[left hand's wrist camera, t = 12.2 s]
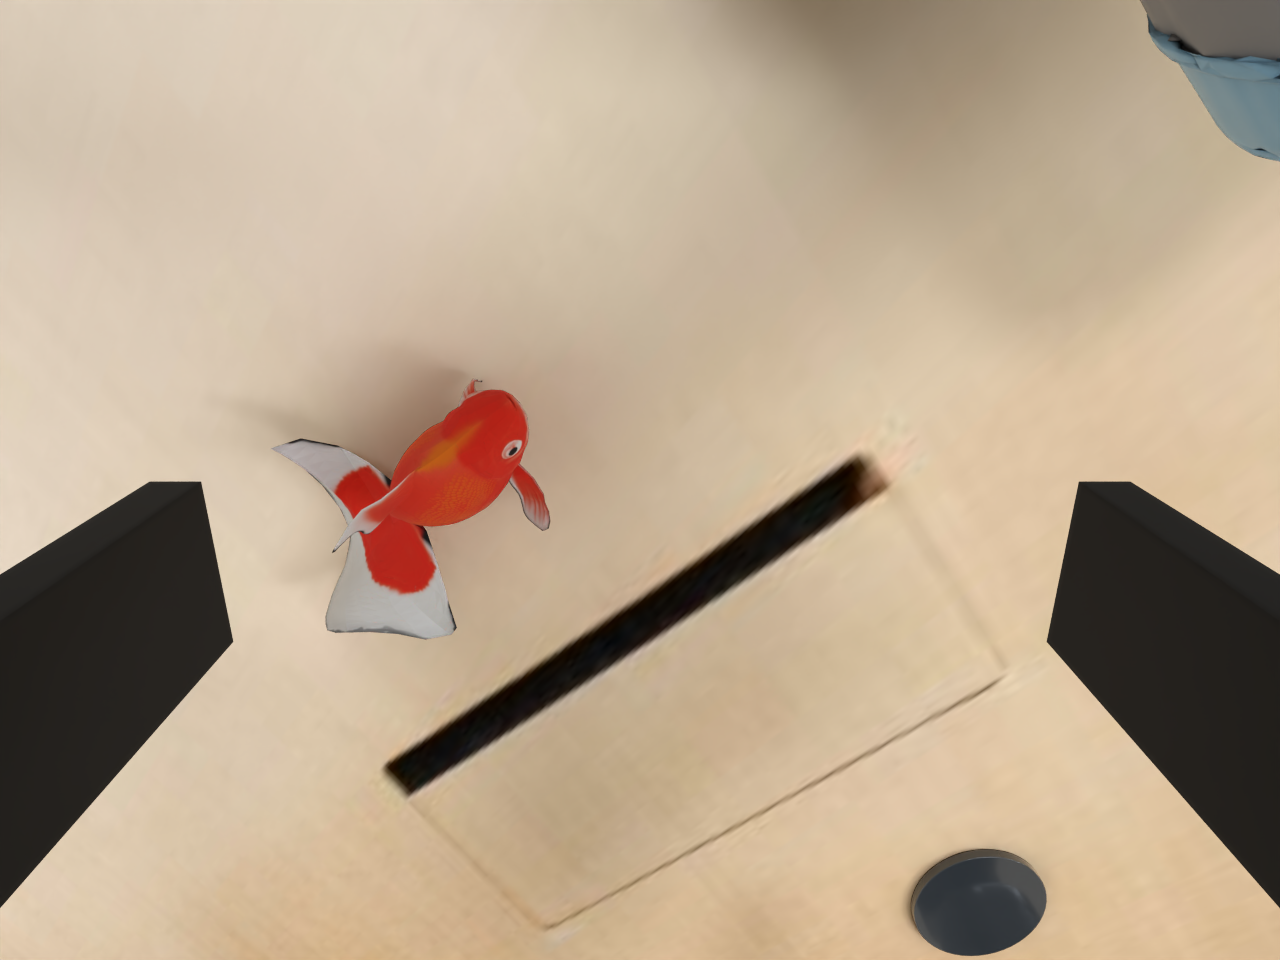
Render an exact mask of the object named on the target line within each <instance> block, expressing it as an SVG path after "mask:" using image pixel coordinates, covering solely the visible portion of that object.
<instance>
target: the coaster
mask: <svg viewBox="0 0 1280 960" xmlns="http://www.w3.org/2000/svg"><path fill="white" fill-rule="evenodd" d="M1046 902H1047V900H1046V891H1045V887H1044V885H1043V882H1042V880H1041V879H1040V877H1039V875H1038V874H1037V872H1036V871H1035V869H1034V868H1033V867H1032V866H1031V865H1030V864H1029V863H1028V862H1026V861H1025V860H1023V859H1022V858H1020V857H1018V856H1016V855H1014V854H1011V853H1008V852H1004V851H999V850H987V849H985V850H973V851H968V852H964V853H960V854H957V855H954V856H951V857H949V858H947V859H945V860H943V861H942V862H940V863H938V864H937V865H935V866H934V867H933V868H931V869H930V870H929V871H928V872H927V873H926V874H925V875H924V876H923V877H922V879H921V880H920V881H919V883H918V885H917V886H916V888H915V891H914V893H913V897H912V902H911V910H912V915H913V919H914V922H915V924H916V927H917V929H918V931H919V932H920V934H921V935H922V937H923V938H924V939H925V940H926V941H927V942H929V943H930V944H931V945H933V946H934V947H936V948H938V949H940V950H942V951H945V952H947V953H951V954H955V955H962V956H979V955H987V954H991V953H995V952H998V951H1001V950H1004V949H1006V948H1009V947H1011V946H1013V945H1015V944H1016V943H1018V942H1020V941H1021V940H1022V939H1024V938H1025V937H1026V936H1028V935H1029V934H1030V933H1031V932H1032V931H1033V930H1034V929H1035V927H1036V926H1037V925H1038V923H1039V922H1040V920H1041V918H1042V916H1043V914H1044V911H1045V908H1046Z"/></svg>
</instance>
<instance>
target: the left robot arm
mask: <svg viewBox="0 0 1280 960" xmlns="http://www.w3.org/2000/svg"><path fill="white" fill-rule="evenodd" d="M1140 1H1141V3H1142V5H1143V7H1144V8H1145V10H1146V12H1147V18H1148V27H1149V34H1150V35H1151V38H1152V40H1153V42H1154V43H1155V45H1156V46H1157V47H1158V49H1159V50H1160V51H1161V52H1163V53H1164V54H1165V55H1166V56H1167V57H1168V58H1170V59H1171V60H1172V61H1175V62H1177V63H1179V65H1180V67H1181V68H1182V70H1183V71H1184V73H1185V75H1186V76H1187V78H1188V79H1189V81H1190V83H1191V84H1192V86H1193V87H1194V89H1195V91H1196V92H1197V94H1198V96H1199V97H1200V99H1201V100H1202V102H1203V104H1204V105H1205V107H1206V108H1207V110H1208V112H1209V113H1210V115H1211V116H1212V118H1213V120H1214V121H1215V123H1216V125H1217V126H1218V127H1219V128H1220V130H1221V131H1222V132H1223V133H1224V134H1225V135H1226V136H1227V137H1228V138H1229V139H1230V140H1231V141H1232V142H1234V143H1235V144H1236V145H1237V146H1239V147H1240V148H1242V149H1244V150H1245V151H1247V152H1249V153H1251V154H1253V155H1255V156H1259V157H1263V158H1266V159H1271V160H1275V161H1280V0H1140ZM232 643H233V638H232V633H231V628H230V623H229V618H228V613H227V608H226V603H225V598H224V593H223V588H222V583H221V579H220V574H219V569H218V564H217V559H216V554H215V549H214V544H213V539H212V534H211V529H210V524H209V519H208V514H207V509H206V504H205V499H204V494H203V489H202V484H201V482H148V483H147V484H145V485H144V486H142V487H140V488H139V489H137V490H136V491H134V492H132V493H131V494H129V495H128V496H126V497H124V498H123V499H121V500H120V501H118V502H116V503H115V504H113V505H111V506H110V507H108V508H107V509H105V510H103V511H102V512H100V513H99V514H97V515H95V516H94V517H92V518H91V519H89V520H87V521H86V522H84V523H83V524H81V525H79V526H78V527H76V528H74V529H73V530H71V531H70V532H68V533H66V534H65V535H63V536H62V537H60V538H58V539H57V540H55V541H54V542H52V543H50V544H49V545H47V546H46V547H44V548H42V549H41V550H39V551H37V552H36V553H34V554H33V555H31V556H29V557H28V558H26V559H25V560H23V561H21V562H20V563H18V564H17V565H15V566H13V567H12V568H10V569H9V570H7V571H5V572H4V573H2V574H0V908H1V906H2V905H3V904H4V903H5V902H6V901H7V900H8V898H9V897H10V896H11V895H12V894H13V893H14V892H15V890H16V889H17V888H18V887H19V886H20V885H21V884H22V882H23V881H24V880H25V879H26V878H27V877H28V876H29V874H30V873H31V872H32V871H33V870H34V869H35V868H36V866H37V865H38V864H39V863H40V862H41V861H42V860H43V858H44V857H45V856H46V855H47V854H48V853H49V852H50V850H51V849H52V848H53V847H54V846H55V845H56V844H57V842H58V841H59V840H60V839H61V838H62V837H63V836H64V834H65V833H66V832H67V831H68V830H69V829H70V828H71V826H72V825H73V824H74V823H75V822H76V821H77V820H78V818H79V817H80V816H81V815H82V814H83V813H84V812H85V810H86V809H87V808H88V807H89V806H90V805H91V804H92V802H93V801H94V800H95V799H96V798H97V797H98V796H99V794H100V793H101V792H102V791H103V790H104V789H105V788H106V786H107V785H108V784H109V783H110V782H111V781H112V780H113V778H114V777H115V776H116V775H117V774H118V773H119V772H120V770H121V769H122V768H123V767H124V766H125V765H126V764H127V762H128V761H129V760H130V759H131V758H132V757H133V756H134V754H135V753H136V752H137V751H138V750H139V749H140V748H141V746H142V745H143V744H144V743H145V742H146V741H147V740H148V738H149V737H150V736H151V735H152V734H153V733H154V732H155V730H156V729H157V728H158V727H159V726H160V725H161V724H162V723H163V721H164V720H165V719H166V718H167V717H168V716H169V715H170V713H171V712H172V711H173V710H174V709H175V708H176V707H177V705H178V704H179V703H180V702H181V701H182V700H183V699H184V697H185V696H186V695H187V694H188V693H189V692H190V691H191V689H192V688H193V687H194V686H195V685H196V684H197V683H198V681H199V680H200V679H201V678H202V677H203V676H204V675H205V673H206V672H207V671H208V670H209V669H210V668H211V667H212V665H213V664H214V663H215V662H216V661H217V660H218V659H219V657H220V656H221V655H222V654H223V653H224V652H225V651H226V649H227V648H228V647H229V646H230V645H231V644H232ZM1047 643H1048V644H1049V645H1050V646H1051V647H1052V648H1053V649H1054V651H1055V652H1056V653H1057V654H1058V655H1059V656H1060V657H1061V659H1062V660H1063V661H1064V662H1065V663H1066V664H1067V665H1068V667H1069V668H1070V669H1071V670H1072V671H1073V672H1074V673H1075V675H1076V676H1077V677H1078V678H1079V679H1080V680H1081V681H1082V683H1083V684H1084V685H1085V686H1086V687H1087V688H1088V689H1089V691H1090V692H1091V693H1092V694H1093V695H1094V696H1095V697H1096V699H1097V700H1098V701H1099V702H1100V703H1101V704H1102V705H1103V707H1104V708H1105V709H1106V710H1107V711H1108V712H1109V713H1110V715H1111V716H1112V717H1113V718H1114V719H1115V720H1116V721H1117V723H1118V724H1119V725H1120V726H1121V727H1122V728H1123V729H1124V730H1125V732H1126V733H1127V734H1128V735H1129V736H1130V737H1131V738H1132V740H1133V741H1134V742H1135V743H1136V744H1137V745H1138V746H1139V748H1140V749H1141V750H1142V751H1143V752H1144V753H1145V754H1146V756H1147V757H1148V758H1149V759H1150V760H1151V761H1152V762H1153V764H1154V765H1155V766H1156V767H1157V768H1158V769H1159V770H1160V772H1161V773H1162V774H1163V775H1164V776H1165V777H1166V778H1167V780H1168V781H1169V782H1170V783H1171V784H1172V785H1173V786H1174V788H1175V789H1176V790H1177V791H1178V792H1179V793H1180V794H1181V796H1182V797H1183V798H1184V799H1185V800H1186V801H1187V802H1188V804H1189V805H1190V806H1191V807H1192V808H1193V809H1194V810H1195V812H1196V813H1197V814H1198V815H1199V816H1200V817H1201V818H1202V820H1203V821H1204V822H1205V823H1206V824H1207V825H1208V826H1209V828H1210V829H1211V830H1212V831H1213V832H1214V833H1215V834H1216V836H1217V837H1218V838H1219V839H1220V840H1221V841H1222V842H1223V844H1224V845H1225V846H1226V847H1227V848H1228V849H1229V850H1230V852H1231V853H1232V854H1233V855H1234V856H1235V857H1236V858H1237V860H1238V861H1239V862H1240V863H1241V864H1242V865H1243V866H1244V868H1245V869H1246V870H1247V871H1248V872H1249V873H1250V874H1251V876H1252V877H1253V878H1254V879H1255V880H1256V881H1257V882H1258V884H1259V885H1260V886H1261V887H1262V888H1263V889H1264V890H1265V892H1266V893H1267V894H1268V895H1269V896H1270V897H1271V898H1272V900H1273V901H1274V902H1275V903H1276V904H1277V905H1278V906H1279V908H1280V574H1278V573H1276V572H1275V571H1273V570H1271V569H1270V568H1268V567H1267V566H1265V565H1263V564H1262V563H1260V562H1259V561H1257V560H1255V559H1254V558H1252V557H1251V556H1249V555H1247V554H1246V553H1244V552H1243V551H1241V550H1239V549H1238V548H1236V547H1234V546H1233V545H1231V544H1230V543H1228V542H1226V541H1225V540H1223V539H1222V538H1220V537H1218V536H1217V535H1215V534H1214V533H1212V532H1210V531H1209V530H1207V529H1206V528H1204V527H1202V526H1201V525H1199V524H1197V523H1196V522H1194V521H1193V520H1191V519H1189V518H1188V517H1186V516H1185V515H1183V514H1181V513H1180V512H1178V511H1177V510H1175V509H1173V508H1172V507H1170V506H1169V505H1167V504H1165V503H1164V502H1162V501H1160V500H1159V499H1157V498H1156V497H1154V496H1152V495H1151V494H1149V493H1148V492H1146V491H1144V490H1143V489H1141V488H1140V487H1138V486H1136V485H1135V484H1133V483H1132V482H1079V484H1078V489H1077V494H1076V499H1075V504H1074V509H1073V514H1072V519H1071V524H1070V529H1069V534H1068V539H1067V544H1066V549H1065V554H1064V559H1063V564H1062V569H1061V574H1060V579H1059V583H1058V588H1057V593H1056V598H1055V603H1054V608H1053V613H1052V618H1051V623H1050V628H1049V633H1048V638H1047Z"/></svg>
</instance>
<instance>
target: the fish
mask: <svg viewBox="0 0 1280 960" xmlns="http://www.w3.org/2000/svg"><path fill="white" fill-rule="evenodd" d="M474 381H478V382H482V381H481V380H478V379H474V378H473V380H472V381H471V382H470V383H469V385H468V386H467V387H466V389H465V390H464V392H463V395H462V397H461V400H460V402H459V405H458V408H456V409H454V410H452V411H451V412H450V413H449V414H448V415H447V416H446V418H445V419H444V421H442V422H440V423H438V424H436V425H434V426H432V427H431V428H429V429H427V430H426V431H425V432H424V433H423V434H422V435H421V436H420V437H419V438H418V439H417V440H416V441H415V442H414V443H413V444H412V445H411V446H410V447H409V448H408V449H407V451H406V452H405V453H404V455H403V456H402V458H401V460H400V461H399V463H398V465H397V467H396V469H395V471H394V474H393V478H392V481H391V480H390V479H389V478H388V477H386V476H385V475H384V474H383V473H381V472H380V471H379V470H378V469H376V468H375V467H374V466H373V465H371V464H370V463H369V462H367V461H365V460H364V459H362V458H360V457H359V456H357V455H355V454H353V453H351V452H349V451H347V450H345V449H343V448H341V447H339V446H336V445H331V444H326V443H321V442H316V441H311V440H306V439H298V440H295V441H292V442H289V443H286V444H283V445H280V446H277V447H274V448H271V449H272V450H274V451H276V452H278V453H280V454H282V455H284V456H285V457H287V458H289V459H290V460H292V461H293V462H295V463H296V464H298V465H299V466H301V467H302V468H304V469H305V470H306V471H307V472H308V473H309V474H311V475H312V476H313V477H314V478H315V479H316V480H317V481H318V482H319V483H320V484H321V485H323V487H324V488H325V489H326V491H327V492H328V493H329V494H330V496H331V497H332V498H333V500H334V501H335V502H336V503H337V505H338V506H339V507H340V509H341V511H342V513H343V515H344V517H345V520H346V522H347V524H348V527H347V528H346V530H345V532H344V533H343V535H342V537H341V538H340V540H339V542H338V543H337V545H336V547H335V548H334V550H333V552H335V551H336V550H337V549H338V548H339V547H340V546H341V545H342V544H343V543H344V542H345V541H346V540H347V539H348V538H349V537H350V536H351V537H350V544H349V549H348V554H347V559H346V563H345V566H344V569H343V571H342V573H341V575H340V577H339V580H338V582H337V584H336V587H335V589H334V591H333V594H332V597H331V600H330V603H329V606H328V610H327V613H326V627H327V630H328V631H332V632H335V633H341V632H379V633H393V634H401V635H406V636H411V637H416V638H421V639H430V638H435V637H441V636H446V635H451V634H452V633H453V632H454V630H455V629H456V628H457V627H456V624H455V621H454V618H453V615H452V612H451V609H450V606H449V602H448V598H447V594H446V590H445V586H444V583H443V580H442V577H441V573H440V570H439V567H438V564H437V561H436V558H435V555H434V552H433V549H432V546H431V543H430V540H429V537H428V534H427V531H426V530H425V528H424V527H423V526H442V525H450V524H454V523H457V522H460V521H463V520H465V519H467V518H469V517H471V516H473V515H475V514H476V513H478V512H480V511H482V510H483V509H485V508H486V507H487V506H489V505H490V504H491V503H492V502H493V501H494V500H495V499H496V498H497V497H498V495H499V494H500V493H501V491H502V490H503V489H504V487H505V486H506V485H507V483H508V482H510V484H511V485H512V486H513V488H514V489H515V490H516V491H517V493H518V494H519V496H520V499H521V503H522V507H523V511H524V513H525V515H526V517H527V518H528V519H529V520H530V521H531V522H532V523H533V524H534V525H536V526H537V527H538V528H540V529H541V530H542V531H543V530H546V529H548V528H549V524H550V516H549V511H548V508H547V506H546V504H545V500H544V494H543V492H542V491H541V489H540V487H539V486H538V484H537V483H536V481H535V479H534V478H533V477H532V476H531V475H530V474H529V473H528V472H527V471H526V470H525V469H524V468H523V467H522V466H521V465H520V464H519V463H520V461H521V458H522V455H523V452H524V450H525V447H526V445H527V442H528V436H529V429H528V420H527V416H526V414H525V412H524V410H523V408H522V406H521V404H520V402H519V401H518V400H517V399H516V398H515V397H514V396H513V395H511V394H509V393H507V392H505V391H502V390H486V391H475V387H474ZM333 552H332V553H333Z"/></svg>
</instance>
